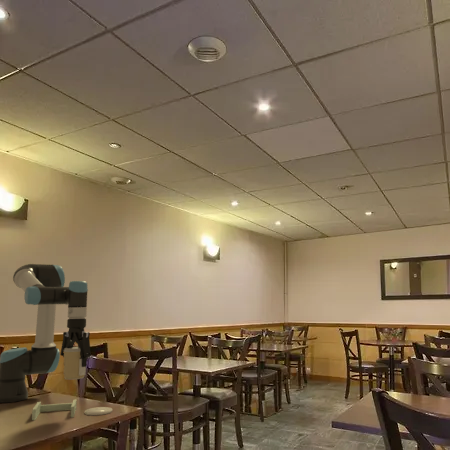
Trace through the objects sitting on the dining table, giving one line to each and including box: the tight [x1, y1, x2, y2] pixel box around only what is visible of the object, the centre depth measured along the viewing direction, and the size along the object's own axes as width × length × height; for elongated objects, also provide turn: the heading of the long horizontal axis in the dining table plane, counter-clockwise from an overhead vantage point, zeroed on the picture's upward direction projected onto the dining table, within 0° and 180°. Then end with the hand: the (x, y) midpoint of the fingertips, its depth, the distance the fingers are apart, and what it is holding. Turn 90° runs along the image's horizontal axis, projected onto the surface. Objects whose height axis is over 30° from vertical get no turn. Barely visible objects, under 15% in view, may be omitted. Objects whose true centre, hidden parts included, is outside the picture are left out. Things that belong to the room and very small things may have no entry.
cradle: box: [31, 399, 78, 421], centre depth 177 cm, size 15×15×4 cm
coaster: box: [84, 406, 113, 416], centre depth 180 cm, size 11×11×1 cm
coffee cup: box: [63, 346, 85, 380], centre depth 179 cm, size 9×9×12 cm
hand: (74, 374), depth 179 cm, fingers closed on coffee cup, 9 cm apart
